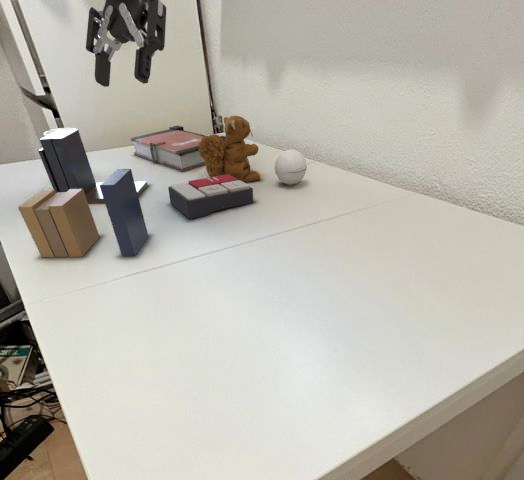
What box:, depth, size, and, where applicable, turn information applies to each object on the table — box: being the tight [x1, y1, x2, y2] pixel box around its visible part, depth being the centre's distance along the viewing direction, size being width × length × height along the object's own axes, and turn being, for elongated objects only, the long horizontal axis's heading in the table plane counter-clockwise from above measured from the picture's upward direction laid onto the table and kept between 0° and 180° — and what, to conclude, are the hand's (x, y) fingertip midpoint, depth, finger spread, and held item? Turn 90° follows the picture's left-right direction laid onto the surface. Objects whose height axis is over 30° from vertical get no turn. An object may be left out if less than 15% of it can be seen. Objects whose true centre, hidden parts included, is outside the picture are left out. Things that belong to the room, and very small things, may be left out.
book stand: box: [37, 129, 149, 204], centre depth 87 cm, size 19×11×13 cm, turn 86°
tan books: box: [17, 189, 101, 258], centre depth 67 cm, size 8×8×9 cm
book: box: [129, 125, 226, 172], centre depth 111 cm, size 26×18×5 cm
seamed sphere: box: [274, 148, 315, 186], centre depth 88 cm, size 10×7×7 cm
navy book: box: [99, 168, 149, 257], centre depth 65 cm, size 2×8×12 cm, turn 176°
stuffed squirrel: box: [197, 115, 261, 183], centre depth 91 cm, size 10×14×13 cm
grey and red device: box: [167, 174, 254, 220], centre depth 82 cm, size 11×4×15 cm
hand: (121, 82), depth 60 cm, fingers open, 8 cm apart
